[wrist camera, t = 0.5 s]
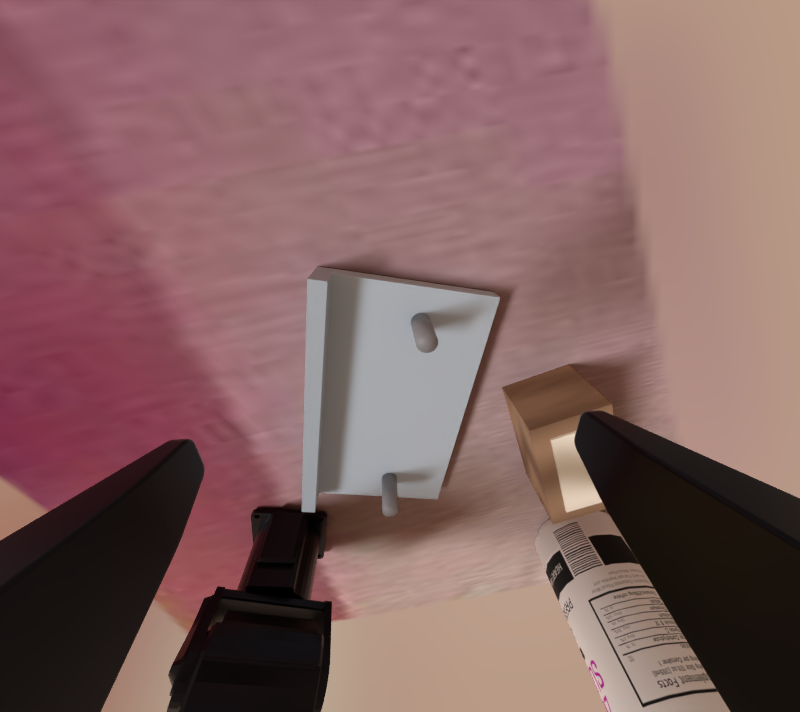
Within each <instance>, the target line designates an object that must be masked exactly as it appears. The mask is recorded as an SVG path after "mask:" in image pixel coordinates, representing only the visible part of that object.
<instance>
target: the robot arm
mask: <svg viewBox="0 0 800 712" xmlns="http://www.w3.org/2000/svg"><path fill="white" fill-rule="evenodd" d="M574 443H575V447H576V450H577V452H578V454H579V456H580V458H581V460H582V462H583V464H584V466H585V468H586V470H587V472H588V474H589V476H590V478H591V480H592V482H593V484H594V486H595V488H596V491H597V493H598V495H599V497H600V499H601V501H602V502H603V504H604V506H605V508H606V510H607V512H608V513H609V515H610V517H611V518H612V520H613V522H614V523H615V525H616V527H617V528H618V530H619V532H620V533H621V535H622V536H623V538H624V540H625V541H626V543H627V545H628V546H629V548H630V549H631V551H632V553H633V554H634V556H635V558H636V559H637V561H638V562H639V564H640V566H641V567H642V569H643V571H644V572H645V574H646V576H647V577H648V579H649V580H650V582H651V584H652V585H653V587H654V589H655V590H656V592H657V593H658V595H659V597H660V598H661V600H662V602H663V603H664V605H665V606H666V608H667V610H668V611H669V613H670V615H671V616H672V618H673V619H674V621H675V623H676V624H677V626H678V628H679V629H680V631H681V632H682V634H683V636H684V637H685V639H686V641H687V642H688V644H689V645H690V647H691V649H692V650H693V652H694V654H695V655H696V657H697V659H698V660H699V662H700V663H701V665H702V667H703V668H704V670H705V672H706V673H707V675H708V676H709V678H710V680H711V681H712V683H713V685H714V686H715V688H716V689H717V691H718V693H719V694H720V696H721V698H722V699H723V701H724V702H725V704H726V706H727V707H728V709H729V711H730V712H800V498H797V497H795V496H793V495H791V494H788V493H786V492H784V491H782V490H779V489H777V488H775V487H773V486H770V485H768V484H766V483H764V482H762V481H759V480H757V479H755V478H753V477H750V476H748V475H746V474H744V473H741V472H739V471H737V470H735V469H732V468H730V467H728V466H726V465H723V464H721V463H719V462H717V461H714V460H712V459H710V458H708V457H705V456H703V455H701V454H699V453H696V452H694V451H692V450H690V449H688V448H685V447H683V446H681V445H679V444H676V443H674V442H672V441H670V440H667V439H665V438H663V437H661V436H658V435H656V434H654V433H652V432H649V431H647V430H645V429H643V428H640V427H638V426H636V425H634V424H631V423H629V422H627V421H625V420H623V419H620V418H618V417H616V416H614V415H611V414H609V413H607V412H605V411H600V410H597V411H586V412H583V413H582V415H581V417H580V420H579V423H578V427H577V430H576V434H575V438H574ZM203 476H204V464H203V462H202V460H201V457H200V455H199V453H198V450H197V448H196V446H195V443H194V442H193V441H192V440H190V439H178V440H170V441H168V442H166V443H164V444H163V445H161V446H159V447H158V448H156V449H154V450H153V451H151V452H149V453H147V454H146V455H144V456H142V457H141V458H139V459H137V460H136V461H134V462H132V463H131V464H129V465H127V466H126V467H124V468H122V469H120V470H119V471H117V472H115V473H114V474H112V475H110V476H109V477H107V478H105V479H104V480H102V481H100V482H99V483H97V484H95V485H93V486H92V487H90V488H88V489H87V490H85V491H83V492H82V493H80V494H78V495H77V496H75V497H73V498H72V499H70V500H68V501H66V502H65V503H63V504H61V505H60V506H58V507H56V508H55V509H53V510H51V511H50V512H48V513H46V514H45V515H43V516H41V517H40V518H38V519H36V520H34V521H33V522H31V523H29V524H28V525H26V526H24V527H23V528H21V529H19V530H18V531H16V532H14V533H12V534H11V535H9V536H7V537H6V538H4V539H2V540H1V541H0V712H101V710H102V708H103V705H104V703H105V701H106V699H107V697H108V695H109V693H110V691H111V688H112V686H113V684H114V682H115V680H116V678H117V676H118V673H119V671H120V669H121V667H122V665H123V663H124V661H125V659H126V656H127V654H128V652H129V650H130V648H131V646H132V644H133V641H134V639H135V637H136V635H137V633H138V631H139V629H140V627H141V624H142V622H143V620H144V618H145V616H146V614H147V612H148V610H149V607H150V605H151V603H152V601H153V599H154V597H155V595H156V593H157V590H158V588H159V586H160V584H161V582H162V580H163V578H164V576H165V573H166V571H167V569H168V567H169V565H170V563H171V561H172V558H173V556H174V554H175V552H176V549H177V547H178V545H179V542H180V540H181V537H182V535H183V532H184V529H185V527H186V524H187V521H188V518H189V516H190V513H191V510H192V507H193V504H194V502H195V499H196V496H197V493H198V490H199V488H200V485H201V482H202V479H203ZM251 522H252V533H253V547H252V550H251V553H250V555H249V558H248V561H247V564H246V567H245V569H244V572H243V575H242V578H241V581H240V583H239V586H238V589H237V590H230V589H225V587H220V586H218V587H217V589H216V591H215V593H214V595H212V596H210V597H207V598H204V600H203V603H202V605H201V607H200V610H199V612H198V614H197V617H196V619H195V621H194V623H193V625H192V628H191V630H190V631H189V633H188V635H187V637H186V639H185V641H184V643H183V645H182V647H181V649H180V651H179V653H178V655H177V657H176V658H175V661H174V662H173V664H172V667H171V669H170V672H169V675H168V676H169V678H170V682H171V685H172V689H171V692H170V696H172V697H171V700H170V703H169V706H168V709H167V712H321V709H322V705H323V702H324V697H325V693H326V687H327V681H328V675H329V665H330V644H331V609H332V602H331V601H324V602H321V601H313V600H310V599H311V593H312V587H313V581H314V576H315V570H316V564H317V559H321V558H323V556H324V549H325V536H326V524H327V514H326V513H324V512H315V513H314V512H302V511H294V510H273V509H255V510H253V512H252V515H251Z"/></svg>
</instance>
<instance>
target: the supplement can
mask: <svg viewBox="0 0 800 712" xmlns="http://www.w3.org/2000/svg"><path fill="white" fill-rule="evenodd" d="M535 548H536V551H537V553H538V555H539V558H540V560H541V562H542V564H543V567H544V569H545V571H546V574H547V576H548V578H549V580H550V583H551V585H552V587H553V589H554V592H555V594H556V596H557V598H558V601H559V603H560V605H561V607H562V610H563V612H564V614H565V617H566V619H567V621H568V623H569V626H570V628H571V630H572V633H573V635H574V637H575V639H576V641H577V644H578V646H579V648H580V651H581V653H582V655H583V658H584V660H585V662H586V664H587V667H588V669H589V671H590V673H591V676H592V678H593V680H594V683H595V685H596V687H597V689H598V692H599V694H600V696H601V698H602V701H603V703H604V705H605V708H606V710H607V712H730V711H729V709H728V707H727V706H726V704H725V702H724V701H723V699H722V698H721V696H720V694H719V693H718V691H717V689H716V688H715V686H714V685H713V683H712V681H711V680H710V678H709V676H708V675H707V673H706V672H705V670H704V668H703V667H702V665H701V663H700V662H699V660H698V659H697V657H696V655H695V654H694V652H693V650H692V649H691V647H690V645H689V644H688V642H687V641H686V639H685V637H684V636H683V634H682V632H681V631H680V629H679V628H678V626H677V624H676V623H675V621H674V619H673V618H672V616H671V615H670V613H669V611H668V610H667V608H666V606H665V605H664V603H663V602H662V600H661V598H660V597H659V595H658V593H657V592H656V590H655V589H654V587H653V585H652V584H651V582H650V580H649V579H648V577H647V576H646V574H645V572H644V571H643V569H642V567H641V566H640V564H639V562H638V561H637V559H636V558H635V556H634V554H633V553H632V551H631V549H630V548H629V546H628V545H627V543H626V541H625V540H624V538H623V536H622V535H621V533H620V532H619V530H618V528H617V527H616V525H615V523H614V522H613V520H612V518H611V517H610V515H609V514H607V513H605V512H600V511H598V512H594V513H591V514H587V515H584V516H580V517H577V518H573V519H570V520H567V521H563V522H560V523H556V524H553V523H552V521H551V519H549V520H548V521H546V522H545V523H544V524H543V525H542V527H541V528H540V530H539V532H538V536H537V538H536V541H535Z"/></svg>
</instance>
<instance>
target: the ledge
mask: <svg viewBox="0 0 800 712" xmlns="http://www.w3.org/2000/svg"><path fill="white" fill-rule="evenodd" d="M499 300H500V297H499V296H498V295H497V294H496V293H494V292H490V291H484V290H477V289H470V288H463V287H456V286H449V285H442V284H435V283H428V282H422V281H415V280H408V279H401V278H394V277H387V276H380V275H373V274H367V273H360V272H353V271H346V270H339V269H332V268H325V267H318V266H317V268H316V269H315V270H314V271H313V273H312V274H311V275H310V276H309V277H308V279H307V314H306V354H305V395H304V435H303V475H302V512H314V513H315V510H316V505H317V500H318V495H319V493H333V494H351V495H369V496H382V513H383V515H385V516H387V517H392V516H395V515H397V514H398V512H399V509H398V497H404V498H422V499H438V496H439V492H440V489H441V486H442V483H443V480H444V476H445V473H446V470H447V467H448V464H449V460H450V457H451V454H452V451H453V448H454V444H455V441H456V438H457V435H458V432H459V428H460V425H461V422H462V419H463V416H464V412H465V409H466V406H467V403H468V400H469V396H470V393H471V390H472V387H473V384H474V380H475V377H476V374H477V371H478V368H479V364H480V361H481V358H482V355H483V352H484V348H485V345H486V342H487V339H488V336H489V332H490V329H491V326H492V323H493V320H494V316H495V313H496V310H497V307H498V304H499Z"/></svg>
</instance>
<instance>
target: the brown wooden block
mask: <svg viewBox="0 0 800 712" xmlns="http://www.w3.org/2000/svg"><path fill="white" fill-rule="evenodd" d="M502 388H503V392H504V395H505V399H506V402H507V406H508V409H509V413H510V417H511V420H512V424H513V427H514V431H515V434H516V438H517V442H518V445H519V449H520V452H521V456H522V459H523V463H524V467H525V470H526V474H527V476H528V477H529V479H530V481H531V483H532V485H533V487H534V489H535V491H536V493H537V495H538V497H539V498H540V500H541V502H542V504H543V506H544V508H545V510H546V512H547V514H548V516H549V518H550V519H551V521H552V523H553V524H556V523H560V522H563V521H567V520H570V519H573V518H577V517H580V516H584V515H587V514H591V513H594V512H598V511H601V510H605V509H606V508H605V506H604V504H603V502H602V501H601V499H600V497H599V495H598V493H597V491H596V488H595V486H594V484H593V482H592V480H591V478H590V476H589V474H588V472H587V470H586V468H585V466H584V464H583V462H582V460H581V458H580V456H579V454H578V452H577V450H576V447H575V443H574V438H575V434H576V430H577V427H578V423H579V420H580V417H581V415H582V413H583V412H586V411H597V410H600V411H605V412H607V413H609V414H611V415H613V405H612V403H611V402H610V401H609V400H607V399H606V398H605V397H604V396H603V395H602V394H601V393H600V392H599V391H598V390H596V389H595V388H594V387H593V386H592V385H591V384H590V383H589V382H588V381H587V380H585V379H584V378H583V377H582V376H581V375H580V374H579V373H578V372H577V371H576V370H575V369H573V368H572V367H571V366H570V365H569V364H568V365H565V366H562V367H559V368H556V369H554V370H551V371H548V372H545V373H542V374H539V375H536V376H533V377H531V378H528V379H525V380H522V381H519V382H516V383H513V384H510V385H508V386H505V387H502Z"/></svg>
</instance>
